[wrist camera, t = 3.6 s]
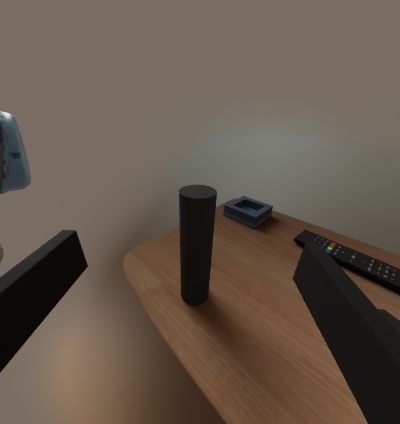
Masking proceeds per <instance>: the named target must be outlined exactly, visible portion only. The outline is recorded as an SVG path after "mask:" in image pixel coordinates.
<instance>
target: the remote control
mask: <svg viewBox="0 0 400 424" xmlns="http://www.w3.org/2000/svg"><path fill="white" fill-rule="evenodd" d="M294 241H295V242H297V243H299V244H301V245H303V246H305V243H319V244H320V245H321V246H322V247H323V248H324V249H325V250H326V251H327V253H328V254H329V255H330V256H331V257H332V258H333V259H334V260H335V261H337V262H339V263H341V264H343V265H345V266H347V267H350V268H352V269H354V270H356V271H358V272H360V273H362V274H364V275H366V276H368V277H371V278H373V279H375V280H377V281H379V282H381V283H383V284H385V285H387V286H389V287H391V288H394V289H396V290H398V291H400V269H398V268H396V267H394V266H391V265H389V264H386V263H384V262H382V261H379V260H377V259H374V258H372V257H370V256H367V255H365V254H362V253H360V252H358V251H355V250H353V249H350V248H348V247H346V246H343V245H341V244H339V243H336V242H334V241H331V240H329V239H327V238H324V237H322V236H319V235H317V234H315V233H312V232H310V231H307V230H304V231H303V232H301V233H300V234H299V235H298V236H297V237H295V239H294Z"/></svg>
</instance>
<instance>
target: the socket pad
mask: <svg viewBox="0 0 400 424" xmlns="http://www.w3.org/2000/svg"><path fill="white" fill-rule="evenodd" d="M272 208H273V206H271V205H268V204H265V203H262V202H259V201H256V200H253V199H250V198H247V197H244V196H243V197H241V198H239V199H236V200H234V201H232V202H230V203H228V204H226V205H225V208H224V212H223V215H225V216H227V217H229V218H231V219H234V220H236V221H238V222H240V223H242V224H245V225H247V226H249V227H251V228H255V227H257V226H258V225H260V224H261V223H262V222H264V221H265V220H266V219H268V218H269V217H270V216H271V214H272V213H271V212H272Z"/></svg>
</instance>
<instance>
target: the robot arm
mask: <svg viewBox="0 0 400 424" xmlns="http://www.w3.org/2000/svg"><path fill="white" fill-rule="evenodd" d="M30 181H31V176H30V170H29V165H28V160H27V156H26V151H25V148H24V144H23V140H22V137H21V133H20V130H19V127H18V125H17V122H16V120H15V118H14V117H13V116H12V115H11V114H9V113H5V112H2V111H0V194H2V193H5V192H8V191H14V190H20V189H24V188H26V187H27V186H28V185H29V184H30ZM87 267H88V265H87V262H86V259H85V256H84V253H83V250H82V247H81V244H80V242H79V238H78V235H77V232H76V231H74V230H62V231H61V232H60V233H58V234H57V235H56V236H54V237H53V238H52V239H50V240H49V241H48V242H47V243H45V244H44V245H42V246H41V247H40V248H38V249H37V250H36V251H35V252H33V253H32V254H31V255H29V256H28V257H27V258H25V259H24V260H23V261H21V262H20V263H19V264H17V265H16V266H15V267H13V268H12V269H11V270H9V271H8V272H7V273H6V274H4V275H3V276H1V277H0V372H1V371H2V370H3V368H4V367H5V366H6V365H7V364H8V362H9V361H10V360H11V359H12V358H13V356H14V355H15V354H16V353H17V351H18V350H19V349H20V348H21V347H22V345H23V344H24V343H25V342H26V340H27V339H28V338H29V337H30V336H31V335H32V333H33V332H34V331H35V330H36V329H37V327H38V326H39V325H40V324H41V323H42V321H43V320H44V319H45V318H46V316H47V315H48V314H49V313H50V312H51V310H52V309H53V308H54V307H55V306H56V304H57V303H58V302H59V301H60V299H61V298H62V297H63V296H64V295H65V293H66V292H67V291H68V290H69V289H70V287H71V286H72V285H73V284H74V283H75V281H76V280H77V279H78V278H79V277H80V275H81V274H82V273H83V272H84V270H85V269H86V268H87ZM293 280H294V282H295V284H296V286H297V288H298V290H299V292H300V293H301V295H302V297H303V299H304V301H305V303H306V305H307V307H308V309H309V311H310V313H311V315H312V317H313V318H314V320H315V322H316V324H317V326H318V328H319V330H320V332H321V334H322V336H323V338H324V340H325V342H326V343H327V345H328V347H329V349H330V351H331V353H332V355H333V357H334V359H335V361H336V363H337V365H338V366H339V368H340V370H341V372H342V374H343V376H344V378H345V380H346V382H347V384H348V386H349V388H350V390H351V391H352V393H353V395H354V397H355V399H356V401H357V403H358V405H359V407H360V409H361V411H362V413H363V415H364V416H365V418H366V420H367V422H368V424H400V321H399V320H398V319H396V318H395V317H394V316H392V315H391V314H390V313H388V312H387V311H386V310H382V309H377V308H376V307H375V306H374V305H373V304H372V302H371V301H370V300H369V299H368V298H367V297H366V296H365V294H364V293H363V292H362V291H361V290H360V289H359V288H358V287H357V285H356V284H355V283H354V282H353V281H352V280H351V279H350V277H349V276H348V275H347V274H346V273H345V272H344V271H343V270H342V268H341V267H340V266H339V265H338V264H337V263H336V262H335V260H334V259H333V258H332V257H331V256H330V255H329V254H328V253H327V251H326V250H325V249H324V248H323V247H322V246H321V245H320V244H319V243H305V246H304V249H303V251H302V254H301V257H300V260H299V262H298V265H297V268H296V270H295V273H294V276H293Z"/></svg>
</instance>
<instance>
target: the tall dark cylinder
mask: <svg viewBox="0 0 400 424" xmlns="http://www.w3.org/2000/svg"><path fill="white" fill-rule="evenodd" d="M216 197H217V191H216V190H215V189H214V188H211V187H209V186H205V185H189V186H185V187H182V188H181V189H180V190H179V210H180V264H181V296H182V299H183V300H184V301H185V302H186V303H187V304H189V305H200V304H202V303H204V302H205V301H206V300H207V298H208V292H209V280H210V268H211V256H212V245H213V233H214V221H215V209H216Z"/></svg>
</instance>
